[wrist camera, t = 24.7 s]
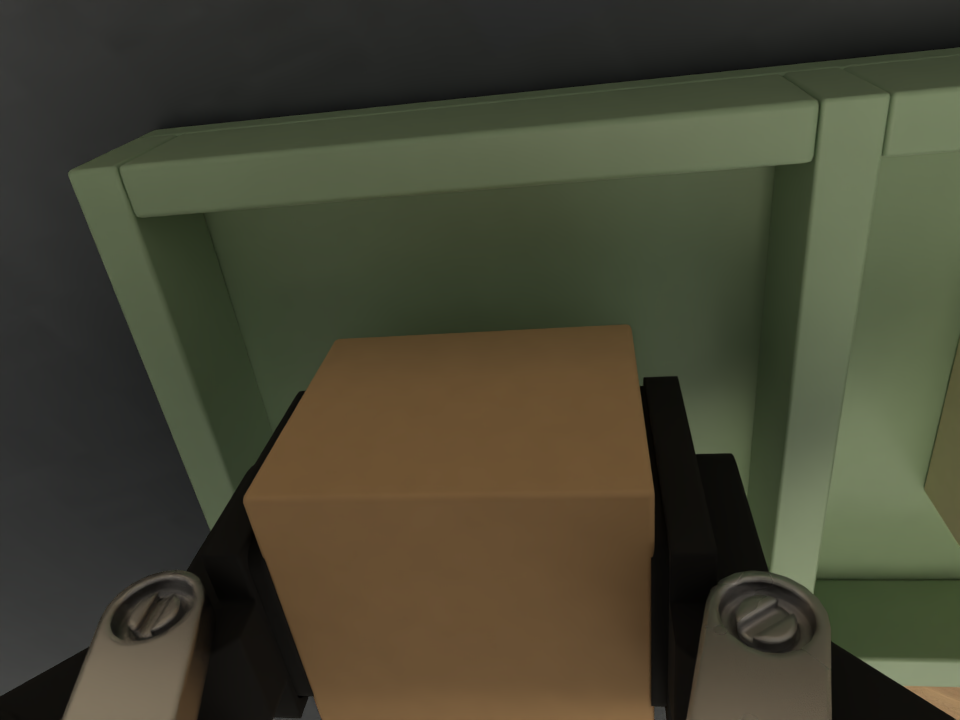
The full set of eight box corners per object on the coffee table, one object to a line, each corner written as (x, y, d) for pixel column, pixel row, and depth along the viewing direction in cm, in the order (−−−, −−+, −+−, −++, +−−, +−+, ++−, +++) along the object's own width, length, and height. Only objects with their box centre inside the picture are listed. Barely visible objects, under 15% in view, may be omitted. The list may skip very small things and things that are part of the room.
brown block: (387, 550, 14) (327, 744, 11) (335, 336, 12) (238, 498, 9) (634, 549, 14) (653, 756, 10) (631, 321, 11) (655, 492, 8)
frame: (303, 582, 18) (265, 673, 16) (153, 129, 13) (63, 170, 10) (1298, 584, 15) (1426, 699, 13) (1675, -27, 9) (2016, -14, 7)
